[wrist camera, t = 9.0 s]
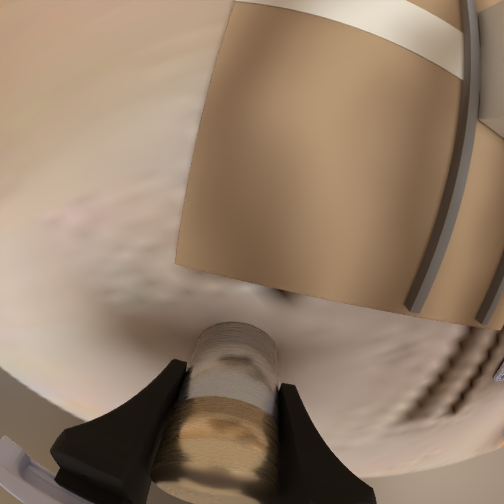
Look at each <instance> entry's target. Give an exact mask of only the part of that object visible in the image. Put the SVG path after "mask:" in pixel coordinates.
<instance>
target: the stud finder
mask: <svg viewBox="0 0 504 504" xmlns="http://www.w3.org/2000/svg"><path fill="white" fill-rule="evenodd" d="M478 18H479V28H480V41H481V93H480V107H479V118H478V120H480V121H481V122H483V123H484V124H485V125H487V126H488V127H489V128H491V129H492V130H493V131H495V132H496V133H497V134H499V135H500V136H501V137H503V138H504V0H502V1H500V2H498V3H496V4H494V5H492V6H490V7H488V8H486V9H485V10H483V11H481V12H479V13H478Z"/></svg>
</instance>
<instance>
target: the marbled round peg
mask: <svg viewBox="0 0 504 504" xmlns="http://www.w3.org/2000/svg"><path fill="white" fill-rule="evenodd" d="M278 469H279V403H278V352H277V348H276V346H275V344H274V342H273V341H272V339H271V338H270V337H269V336H268V335H267V334H266V333H264V332H263V331H261V330H260V329H258V328H256V327H253V326H251V325H248V324H244V323H236V322H230V323H222V324H218V325H215V326H213V327H211V328H209V329H207V330H206V331H205V332H204V333H203V334H202V335H201V336H200V338H199V339H198V342H197V344H196V347H195V349H194V352H193V355H192V357H191V360H190V363H189V365H188V368H187V371H186V373H185V376H184V379H183V381H182V384H181V387H180V389H179V392H178V395H177V398H176V400H175V403H174V406H173V409H172V411H171V414H170V417H169V420H168V422H167V425H166V428H165V431H164V434H163V436H162V439H161V442H160V445H159V448H158V450H157V453H156V456H155V459H154V462H153V465H152V468H151V471H150V478H151V479H152V481H153V482H154V483H155V484H156V485H157V486H158V487H160V488H161V489H162V490H164V491H165V492H167V493H169V494H171V495H173V496H175V497H177V498H179V499H182V500H185V501H188V502H191V503H194V504H270V503H271V502H273V501H274V500H276V498H277V497H278Z"/></svg>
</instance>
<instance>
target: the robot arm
mask: <svg viewBox="0 0 504 504" xmlns="http://www.w3.org/2000/svg"><path fill="white" fill-rule="evenodd" d="M186 367H187V362H184V361H180V360H177V359H173V360H172V361H171V362H170V363H169V364H168V366H167V367H166V368H165V369H164V370H163V371H162V372H161V373H160V374H159V375H158V376H157V377H156V378H155V379H154V380H153V381H152V382H151V383H150V384H149V385H148V386H146V387H145V388H144V389H143V390H142V391H140V392H139V393H138V394H137V395H135V396H134V397H133V398H131V399H130V400H129V401H127V402H126V403H124V404H122V405H121V406H119V407H118V408H116V409H114V410H112V411H111V412H109V413H107V414H105V415H103V416H101V417H98V418H96V419H94V420H91V421H89V422H86V423H84V424H81V425H78V426H74V427H71V428H67V429H65V430H64V431H63V432H62V433H61V434H60V436H59V437H58V438H57V439H56V441H55V443H54V444H53V446H52V448H51V449H50V453H51V455H52V457H53V458H54V460H55V461H56V462H57V464H58V465H59V467H60V469H59V471H58V473H57V475H56V474H54V473H52V472H51V471H49V470H47V469H46V468H45V467H43V466H41V465H40V464H38V463H37V462H35V461H34V460H32V459H31V458H30V456H29V455H28V453H27V452H25V450H24V449H22V448H21V447H20V446H19V445H17V444H16V443H15V442H13V441H12V440H11V439H9V438H8V437H7V436H3V437H2V439H1V440H0V485H1V486H2V487H3V488H4V489H5V490H7V491H8V492H9V493H10V494H12V495H13V496H14V497H16V498H17V499H18V500H20V501H21V502H22V503H24V504H146V501H147V496H148V492H149V489H150V485H151V481H152V479H151V478H150V471H151V468H152V465H153V462H154V459H155V456H156V453H157V450H158V448H159V445H160V442H161V439H162V436H163V434H164V431H165V428H166V425H167V422H168V420H169V417H170V414H171V411H172V409H173V406H174V403H175V400H176V398H177V395H178V392H179V389H180V387H181V384H182V381H183V379H184V376H185V373H186ZM494 380H495V381H496V382H498V381H504V362H503V364H502V365H501V367H500V368H499V370H498V371H497V373H496V374H495V376H494ZM278 403H279V469H278V497H277V498H276V500H274V501H273V502H271V503H270V504H377V503H376V497H375V494H374V491H373V488H372V487H370V486H369V485H367V484H366V483H365V482H363V481H362V480H360V479H359V478H358V477H357V476H355V475H354V474H353V473H352V472H351V471H350V470H349V469H348V468H347V467H346V466H345V465H344V464H343V463H342V462H341V461H340V460H339V459H338V458H337V457H336V456H335V455H334V453H333V452H332V451H331V450H330V448H329V447H328V446H327V444H326V443H325V442H324V440H323V439H322V437H321V436H320V434H319V433H318V431H317V429H316V428H315V426H314V424H313V422H312V421H311V419H310V417H309V415H308V413H307V411H306V409H305V407H304V405H303V402H302V400H301V398H300V396H299V393H298V391H297V388H296V386H295V385H291V384H285V383H282V384H281V387H280V389H279V391H278Z"/></svg>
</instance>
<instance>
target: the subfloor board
mask: <svg viewBox="0 0 504 504" xmlns="http://www.w3.org/2000/svg"><path fill="white" fill-rule="evenodd" d="M500 1H502V0H235V4H234V7H233V10H232V13H231V16H230V19H229V22H228V25H227V28H226V31H225V34H224V37H223V41H222V44H221V47H220V50H219V54H218V57H217V61H216V64H215V68H214V71H213V75H212V79H211V82H210V86H209V90H208V94H207V98H206V101H205V105H204V110H203V114H202V118H201V122H200V126H199V131H198V135H197V140H196V144H195V149H194V154H193V159H192V163H191V168H190V174H189V179H188V184H187V190H186V195H185V201H184V207H183V213H182V219H181V225H180V231H179V238H178V245H177V252H176V260H175V264H176V265H180V266H184V267H188V268H192V269H196V270H200V271H204V272H208V273H212V274H216V275H220V276H225V277H229V278H233V279H237V280H241V281H246V282H250V283H254V284H259V285H263V286H267V287H272V288H276V289H281V290H285V291H290V292H294V293H299V294H304V295H308V296H313V297H318V298H322V299H327V300H332V301H337V302H342V303H346V304H351V305H356V306H361V307H367V308H372V309H377V310H382V311H387V312H393V313H398V314H403V315H409V316H414V317H420V318H426V319H431V320H437V321H443V322H449V323H455V324H461V325H468V326H474V327H480V328H487V329H494V330H501V329H502V327H503V325H504V138H503V137H501V136H500V135H499V134H497V133H496V132H495V131H493V130H492V129H491V128H489V127H488V126H487V125H485V124H484V123H483V122H481V121H480V120H478V118H479V107H480V93H481V41H480V28H479V18H478V13H479V12H481V11H483V10H485V9H486V8H488V7H490V6H492V5H494V4H496V3H498V2H500Z"/></svg>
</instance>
